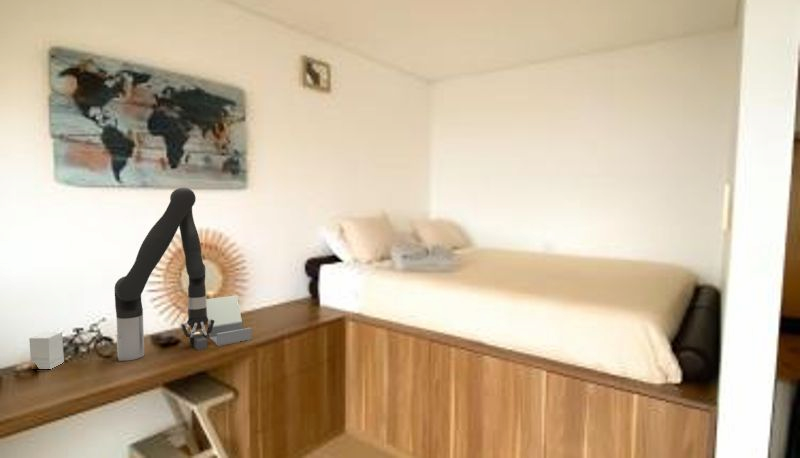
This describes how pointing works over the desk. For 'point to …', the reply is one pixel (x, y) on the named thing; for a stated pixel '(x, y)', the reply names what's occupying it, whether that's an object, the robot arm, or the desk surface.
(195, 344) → the gray white block
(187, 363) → the desk surface
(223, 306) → the panel
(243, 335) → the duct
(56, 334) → the supplement box
